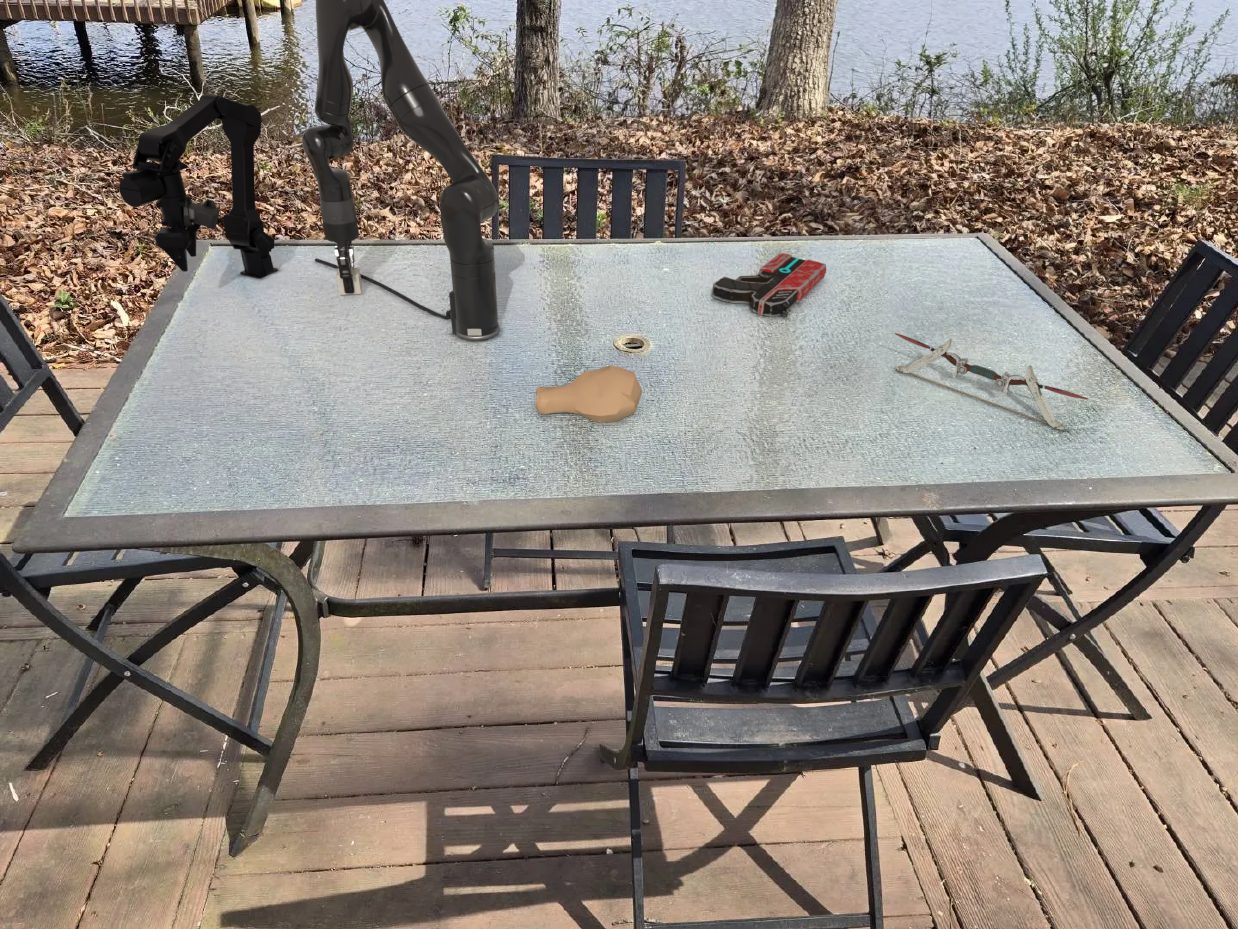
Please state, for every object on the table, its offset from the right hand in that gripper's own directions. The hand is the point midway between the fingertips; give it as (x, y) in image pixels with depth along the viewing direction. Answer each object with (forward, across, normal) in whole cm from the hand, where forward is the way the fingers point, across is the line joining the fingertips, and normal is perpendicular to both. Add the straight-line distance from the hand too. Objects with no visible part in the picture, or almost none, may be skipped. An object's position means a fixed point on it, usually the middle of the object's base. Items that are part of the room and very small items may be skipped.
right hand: (350, 288), depth 208 cm
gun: (+1, -12, -101) cm, 102 cm away
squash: (+1, -64, -46) cm, 79 cm away
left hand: (-8, -1, +34) cm, 35 cm away
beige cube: (+1, 0, 0) cm, 1 cm away
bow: (+2, -70, -123) cm, 142 cm away
